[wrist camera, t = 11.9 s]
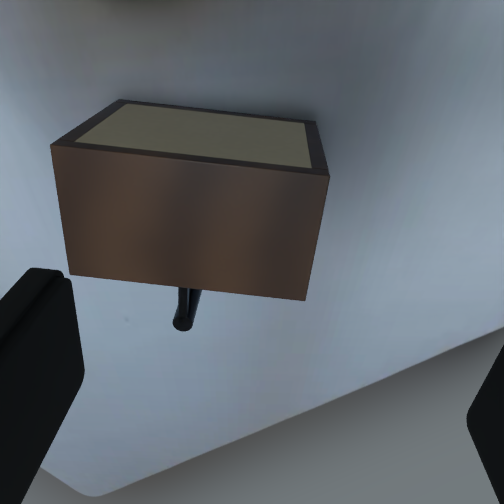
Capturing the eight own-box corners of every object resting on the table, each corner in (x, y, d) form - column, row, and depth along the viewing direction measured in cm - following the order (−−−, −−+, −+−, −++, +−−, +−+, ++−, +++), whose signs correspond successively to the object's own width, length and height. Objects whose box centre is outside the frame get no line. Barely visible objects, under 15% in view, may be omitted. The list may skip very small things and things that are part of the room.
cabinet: (316, 121, 35) (330, 176, 24) (299, 220, 39) (305, 301, 29) (118, 99, 35) (49, 144, 24) (124, 201, 39) (69, 275, 29)
